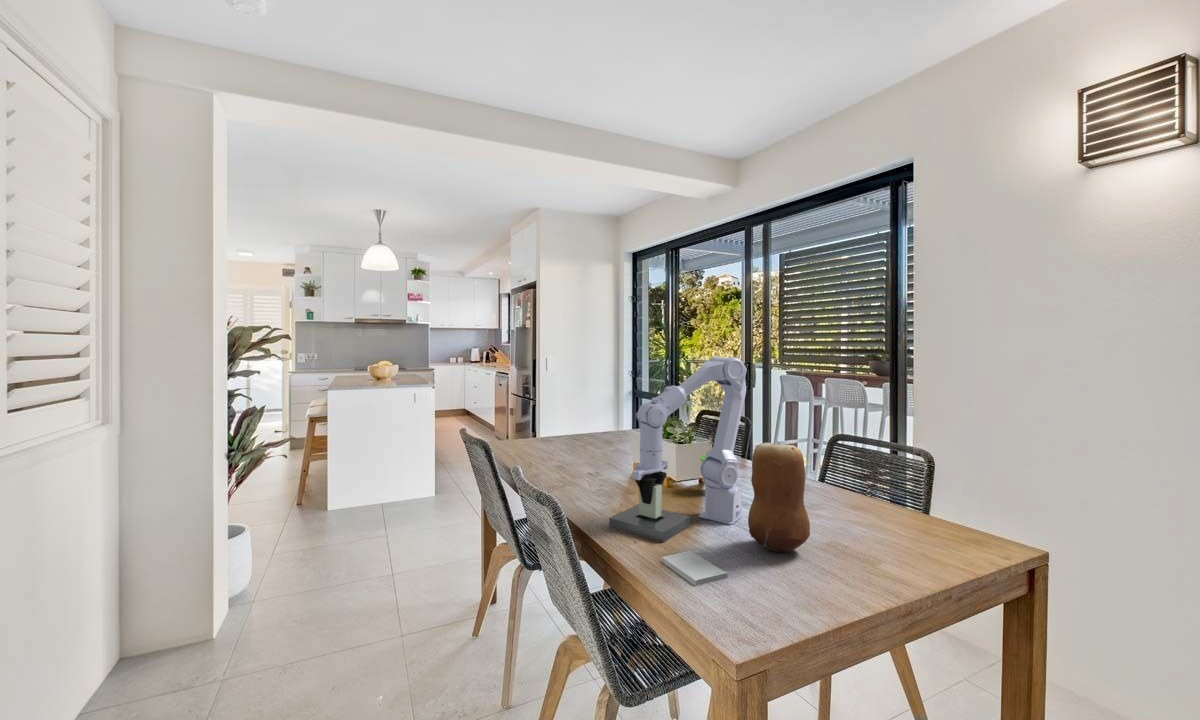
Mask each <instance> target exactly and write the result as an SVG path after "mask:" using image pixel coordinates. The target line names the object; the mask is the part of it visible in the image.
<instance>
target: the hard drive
mask: <svg viewBox="0 0 1200 720" xmlns="http://www.w3.org/2000/svg"><path fill="white" fill-rule="evenodd" d="M661 562H662V563H663V564H664V565H666V567H669V568H670V569H671V570H673V571H674V572H675V573H677V574H678V575H680V576H681V577H683V578H684V579H685V580H687V582H689V583H690V584H692V585H694V586H695V587H696V586H700V585H704V584H708V583H712V582H715V581H717V582H718V581H720V580H725V579H728V578H729V577H728V572H726V571H724V570H722V569H720V568H719V567H718V566H716V565H714V564H713V563H711V562H710V561H708V560H706V559H705V558H703V556H700V555H698V554H697V553H695V552H694V551H692V550H688V551H683V552H678V553H675V554H669V555H665V556H662V557H661Z"/></svg>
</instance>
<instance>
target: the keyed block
mask: <svg viewBox="0 0 1200 720" xmlns="http://www.w3.org/2000/svg"><path fill="white" fill-rule="evenodd" d="M638 494H639V495H638V504H639V515H643V516H647V517H651V518H655V519H656V518H658V517H660V516H661V510H662V508H663V507H662V503H663V502H662V501H663V499H662V497H663V495H662V494H663V484H662V485H659V484H654V487H653V491H652V500H651V504H646V503H643V502H642V498H641V493H640V490H639V491H638Z"/></svg>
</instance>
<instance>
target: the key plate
mask: <svg viewBox="0 0 1200 720" xmlns="http://www.w3.org/2000/svg"><path fill="white" fill-rule="evenodd" d="M608 521H609V522H608V523H609V524H608V525H609V526H608V527H609V528H610V529H614V530H617V531H620V532H624V533H629V534H631V535H635V536H638V537H642V538H646V539H649V540H653V541H657V542H658V543H662V544H663V543H665V542H667V541H669V540H670V539H671V538H673V537H675V536H676V535H678V534H680V533H681V532H682V531H684V530H686V529H687V528H689V527H690V526H691V516H689V515H686V514H682V513H677V512H673V511H669V510H664V509H661V516H660V517H658V518H656V519H655V518H651V517H647V516H643V515H639V503H638V504H635V505H634V506H631V507H629V508H627V509H625V510H623V511H620V512H619V513H617V514H615V515H613V516H610V517H609V519H608Z"/></svg>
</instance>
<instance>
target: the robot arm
mask: <svg viewBox="0 0 1200 720" xmlns="http://www.w3.org/2000/svg"><path fill="white" fill-rule="evenodd" d="M746 374H747V367H746V366H745V364H744V363H743V361H742V360H741V359H740V358H738V357H721V356H712V357H710V359H708V360H707V361H704V362H703V363H702V365H701V367H699V368H698V369H697V370H696V371H694V372H693V373H692V374H691V375H690V376H689V377H687V378H686V379H685V380H684V381H683V382H681V383H680V384H679V385H678V386H676V385H670V386H669V385H667V386H666V387H664V391H663V392H661V393H660V394H658V395H657V396H656V397H652V398H651V399H650V400H651V401H650V402H644V403H642V404H641V405H640V406H639V409H638V410H637V412H636V413H635V416H636V419H637V421H638V422H639V430H640V432H639V463H637V464H635V465H636V466H635V467H636V468H635V470H633V471H632V472H631V473H632V475H631V476H632V478H631V479H632V480H634V481H635V482H636V484H637V487H638V489H639V490H640V493H641V498H642V502H643V503H646V504H651V500H652V491H653V487H654V484H659V485H662V486H663V484H664V481H665V480H666V478H667V472H665V471H663V470H667V469H668V464H669V463H668V461H665V460H663V426H664V425H665V424H666V423H667V420H668V417H669V416H670V415H671V414H673V413H674V412H675V411H677V410H678V409H679V408H680V407H682V406H683V405H684V404H685V403H686V402H687V396H690V394H692V393H694V392H695V391H697V390H698V389H699V388H701V387H703V386H704V385H706V384H707V383H708V382H712V381H714V382H716V383H717V384H718V385H719V386H720V388H721V390H723V392H724V396H723V400H722V405H721V408H720V409H721V410H720V414H719V419H718V423H717V427H716V432H715V437H714V442H713V446H712V447H711V449H710V450H708V451H707V452H706V454H705V456H706V457H705V459H704V461H703V462H702V461H701V464H700V469H699V471H700V474H701V477H702V478H703V481H704V511H703V512H702V513H700V514H699V515H698V517H699V518H702V519H705V520H711V521H715V522H718V523H723V524H727V525H733V524H734V523H736V522H737V521H739V520H740V519H741V518H743V514H742V490H741V489H739V488H738V487H734V485H735V484H736V483H737V482H738V477H739V472H738V463H739V462H738V459H737V457H736V456H735V454H734V450H735V446H736V445H735V444H736V439H737V436H738V431H739V427H740V421H741V418H742V417H741V416H742V412H743V409H744V403H745V398H746V394H747V385H746V384H747V382H746V376H747V375H746Z"/></svg>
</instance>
